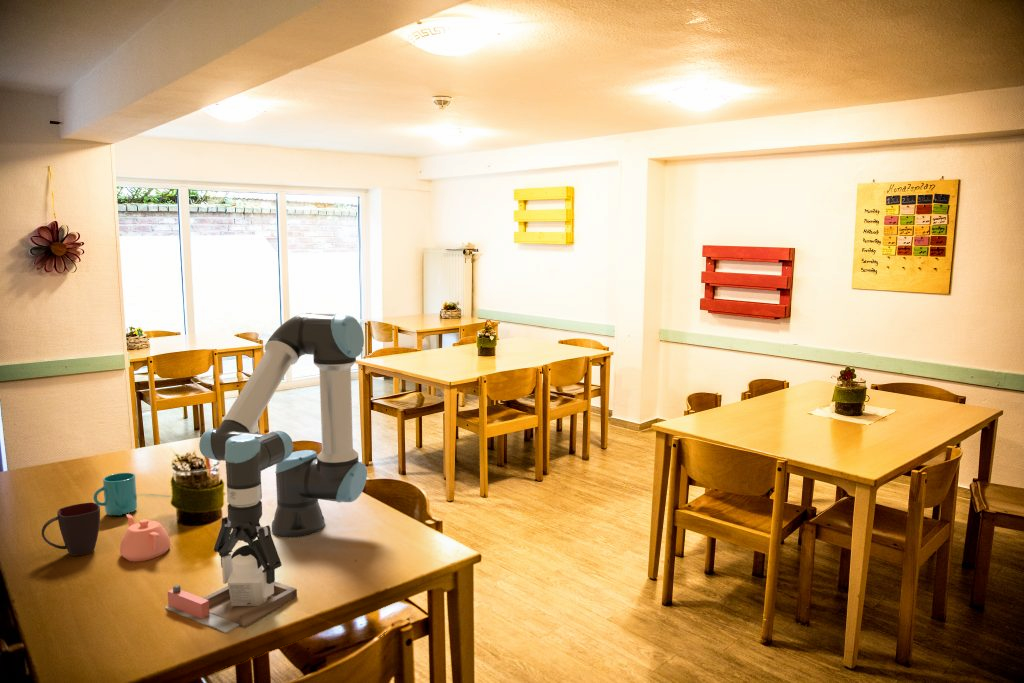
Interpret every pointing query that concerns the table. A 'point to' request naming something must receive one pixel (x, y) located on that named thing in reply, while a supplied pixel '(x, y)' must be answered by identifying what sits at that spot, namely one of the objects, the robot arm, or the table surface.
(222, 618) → the brown tray
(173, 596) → the bar
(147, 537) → the teapot
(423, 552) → the table surface
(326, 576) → the table surface
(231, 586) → the container
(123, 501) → the cup
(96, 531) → the mug
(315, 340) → the robot arm
